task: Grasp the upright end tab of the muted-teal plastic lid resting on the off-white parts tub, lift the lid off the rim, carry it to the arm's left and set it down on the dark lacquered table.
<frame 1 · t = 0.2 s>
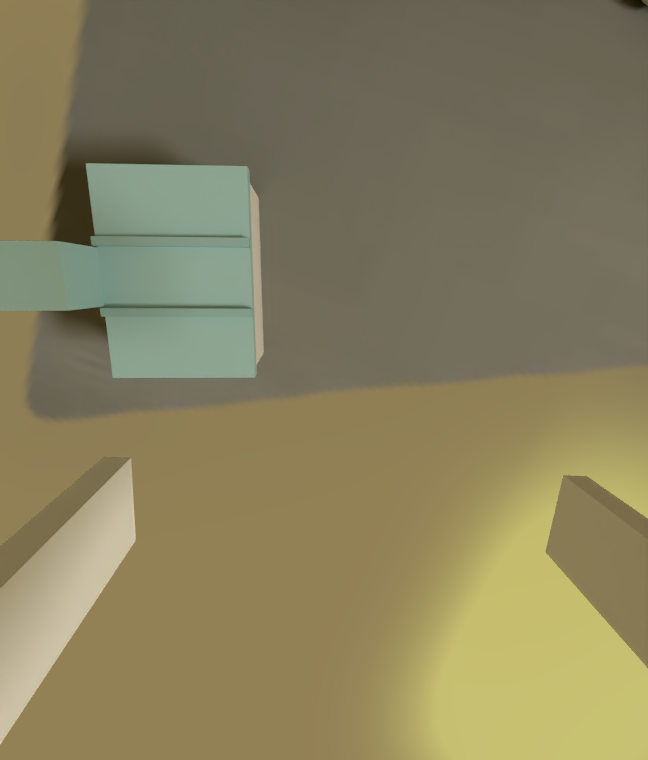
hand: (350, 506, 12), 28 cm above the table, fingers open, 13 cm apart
tub: (207, 278, 37), on the table
lid: (180, 278, 29), point 8 cm above the table, touching tub
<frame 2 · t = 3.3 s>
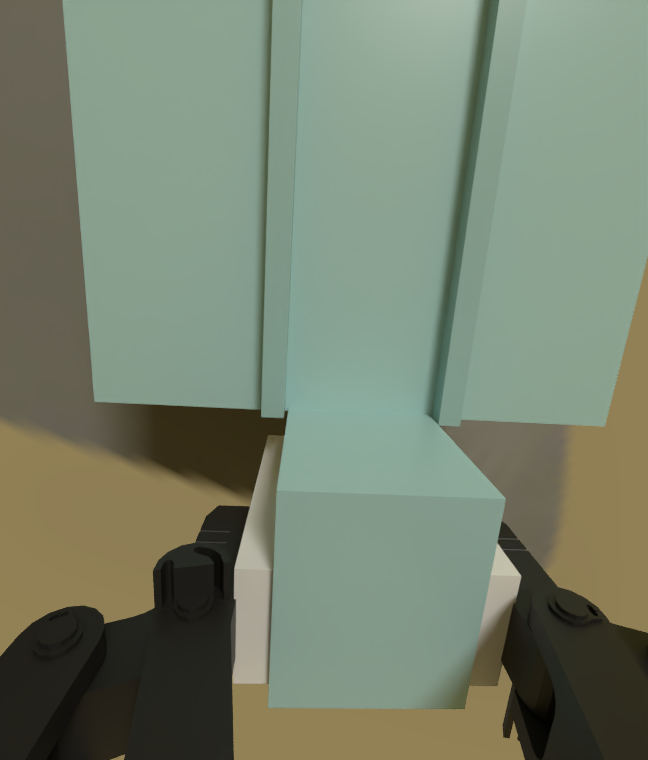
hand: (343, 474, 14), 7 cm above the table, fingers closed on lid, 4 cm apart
lid: (370, 220, 11), point 8 cm above the table, touching gripper, tub
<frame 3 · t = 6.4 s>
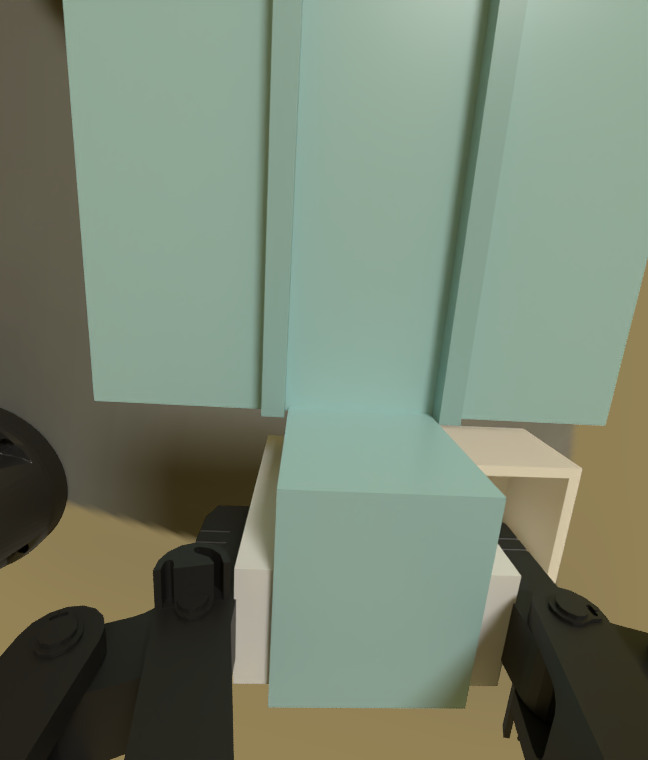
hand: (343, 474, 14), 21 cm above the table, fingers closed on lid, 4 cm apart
tub: (442, 475, 37), on the table
lid: (371, 219, 11), point 22 cm above the table, touching gripper
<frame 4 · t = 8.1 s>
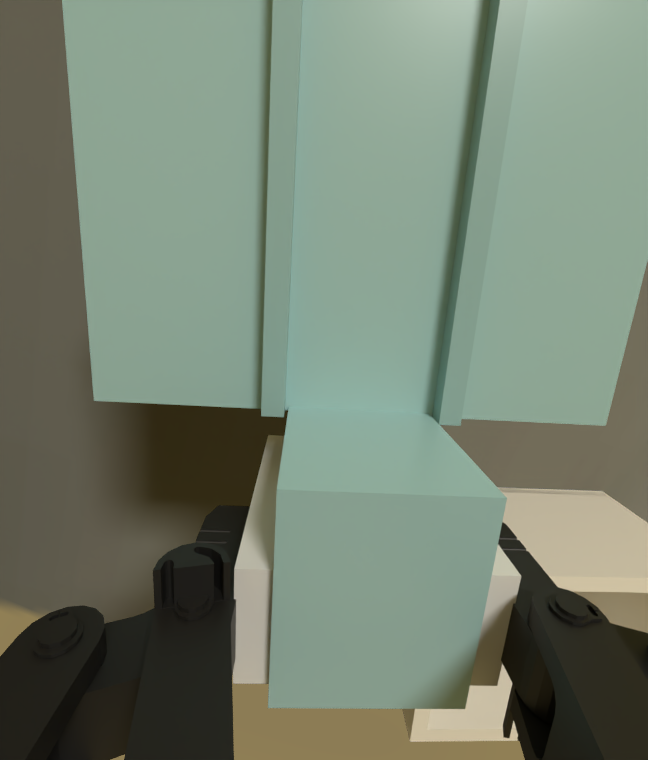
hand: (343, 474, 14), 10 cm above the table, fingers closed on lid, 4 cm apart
tub: (488, 553, 27), on the table
lid: (371, 219, 11), point 11 cm above the table, touching gripper
when the fingers open (2 cm above the table, at t = 9.6 s): lid drops 2 cm, point 1 cm above the table.
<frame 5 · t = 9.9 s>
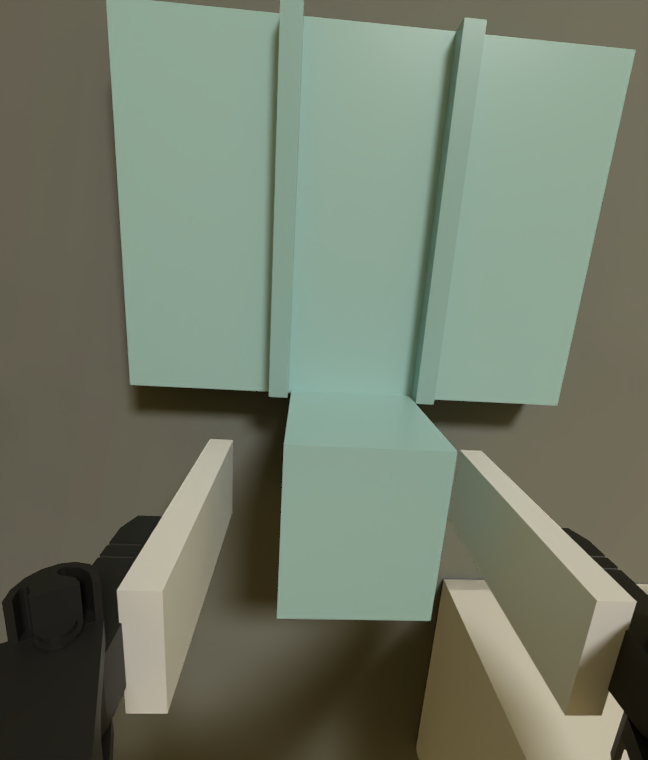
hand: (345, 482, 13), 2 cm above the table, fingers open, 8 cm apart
tub: (572, 670, 19), on the table
lid: (359, 233, 13), point 1 cm above the table
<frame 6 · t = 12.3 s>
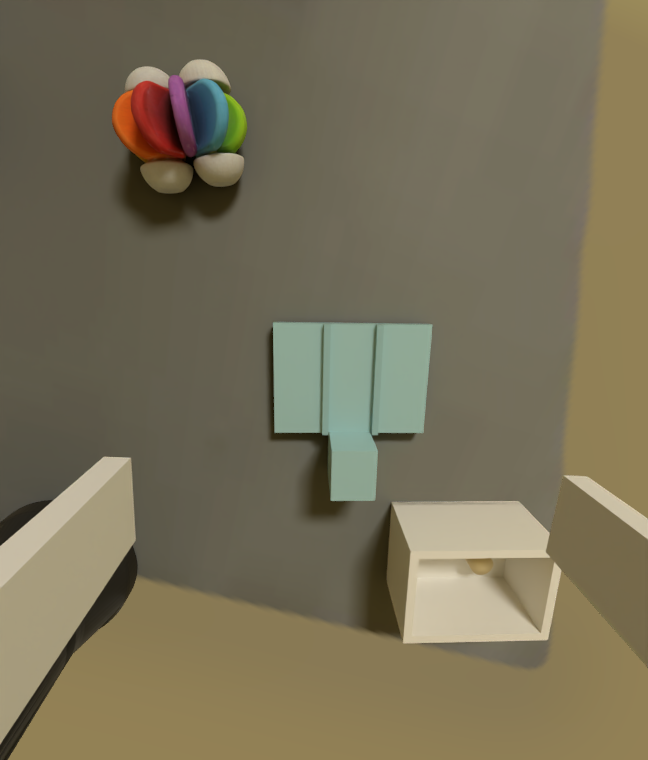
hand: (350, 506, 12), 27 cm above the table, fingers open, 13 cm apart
rainbow disc toy: (194, 140, 33), on the table
tub: (451, 541, 44), on the table
lid: (350, 377, 38), point 1 cm above the table
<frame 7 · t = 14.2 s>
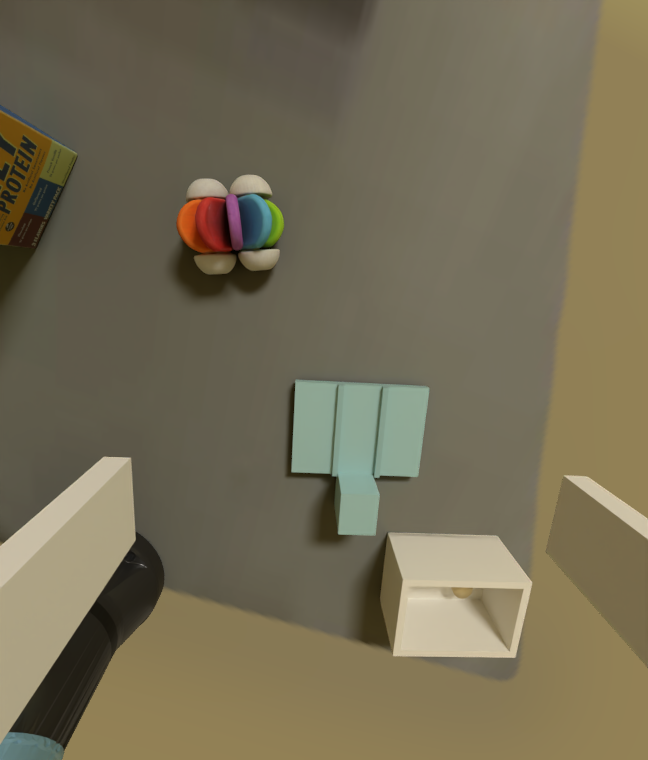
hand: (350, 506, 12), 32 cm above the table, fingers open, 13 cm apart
rainbow disc toy: (237, 229, 40), on the table
tub: (437, 567, 50), on the table
lid: (357, 427, 45), point 1 cm above the table
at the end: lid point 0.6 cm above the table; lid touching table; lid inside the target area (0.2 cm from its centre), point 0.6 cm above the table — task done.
